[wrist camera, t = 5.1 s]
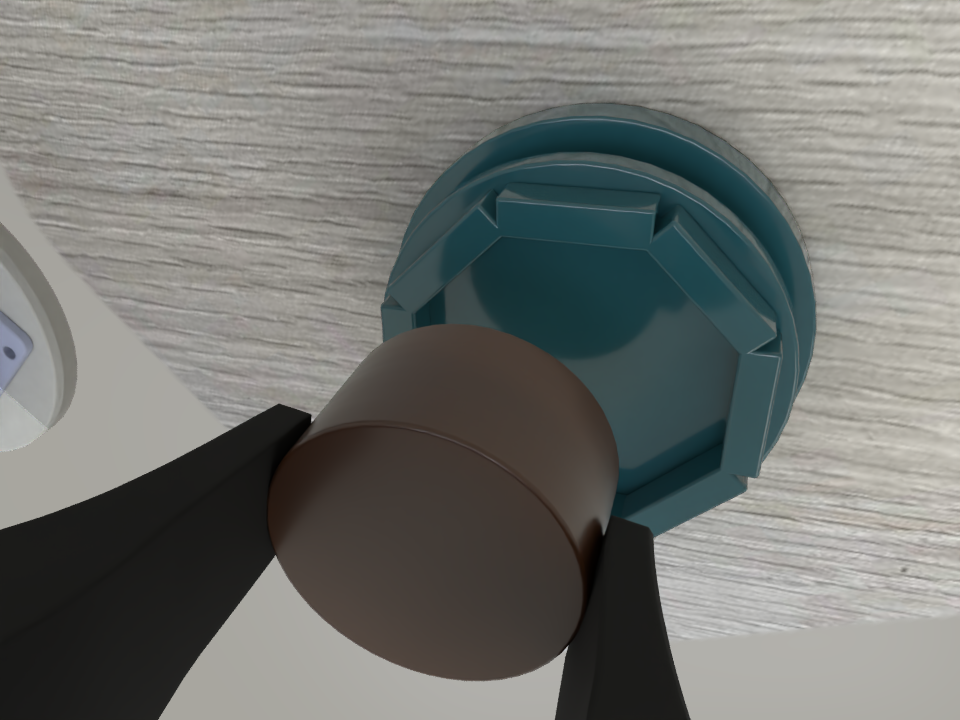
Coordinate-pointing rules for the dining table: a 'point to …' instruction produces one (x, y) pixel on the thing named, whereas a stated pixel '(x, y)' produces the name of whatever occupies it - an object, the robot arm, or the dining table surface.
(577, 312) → the stand
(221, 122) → the dining table surface
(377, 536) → the cylinder
